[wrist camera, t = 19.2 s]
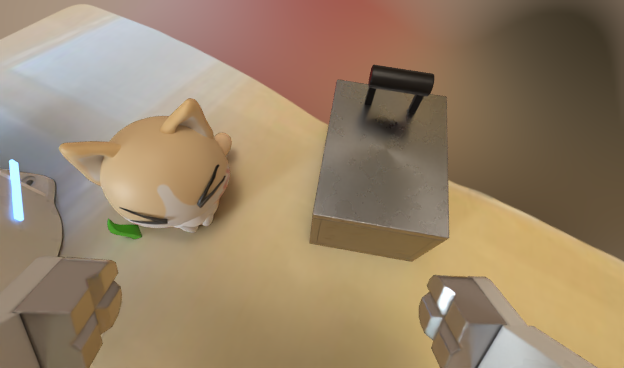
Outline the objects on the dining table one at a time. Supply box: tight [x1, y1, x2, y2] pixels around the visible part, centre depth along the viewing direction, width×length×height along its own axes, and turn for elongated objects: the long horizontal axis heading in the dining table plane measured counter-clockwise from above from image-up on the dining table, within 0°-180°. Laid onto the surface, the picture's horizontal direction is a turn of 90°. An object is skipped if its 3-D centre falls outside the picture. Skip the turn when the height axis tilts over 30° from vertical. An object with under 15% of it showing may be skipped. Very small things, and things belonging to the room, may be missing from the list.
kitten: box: [59, 98, 232, 239], centre depth 30 cm, size 15×10×15 cm
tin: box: [310, 217, 445, 261], centre depth 34 cm, size 15×12×9 cm
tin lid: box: [312, 65, 449, 240], centre depth 28 cm, size 15×12×5 cm
